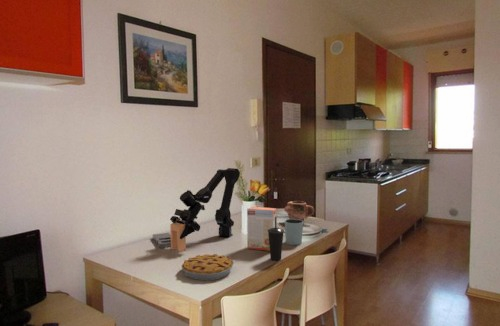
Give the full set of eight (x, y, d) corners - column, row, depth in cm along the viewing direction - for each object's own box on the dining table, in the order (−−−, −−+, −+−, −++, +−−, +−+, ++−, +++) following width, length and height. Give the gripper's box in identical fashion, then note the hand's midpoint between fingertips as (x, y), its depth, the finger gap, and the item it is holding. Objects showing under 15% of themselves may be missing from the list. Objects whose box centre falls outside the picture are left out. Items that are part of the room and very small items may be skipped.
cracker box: (277, 248, 187) (277, 207, 185) (273, 251, 181) (273, 210, 179) (251, 245, 192) (251, 206, 190) (247, 248, 186) (246, 208, 185)
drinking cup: (266, 256, 174) (266, 215, 172) (282, 256, 175) (282, 214, 173) (268, 262, 166) (268, 218, 165) (285, 261, 167) (285, 218, 165)
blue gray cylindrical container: (292, 239, 203) (292, 217, 202) (307, 242, 196) (307, 220, 195) (280, 242, 196) (280, 220, 195) (295, 246, 189) (295, 224, 188)
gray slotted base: (152, 238, 206) (152, 234, 206) (168, 236, 210) (168, 232, 210) (159, 248, 188) (159, 244, 188) (177, 245, 192) (176, 241, 192)
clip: (170, 249, 186) (170, 223, 185) (177, 247, 189) (176, 222, 188) (179, 252, 182) (178, 226, 181) (185, 250, 185) (185, 224, 184)
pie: (240, 265, 163) (240, 254, 163) (222, 284, 142) (222, 272, 142) (196, 260, 170) (195, 250, 169) (172, 278, 149) (171, 266, 148)
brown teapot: (315, 221, 242) (315, 201, 241) (313, 226, 231) (313, 204, 230) (286, 219, 248) (286, 199, 247) (282, 224, 237) (282, 202, 236)
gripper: (172, 200, 193) (155, 225, 186) (195, 205, 180) (177, 231, 173) (184, 213, 199) (168, 237, 192) (207, 218, 187) (191, 244, 179)
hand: (175, 237), depth 184 cm, fingers closed on clip, 7 cm apart
